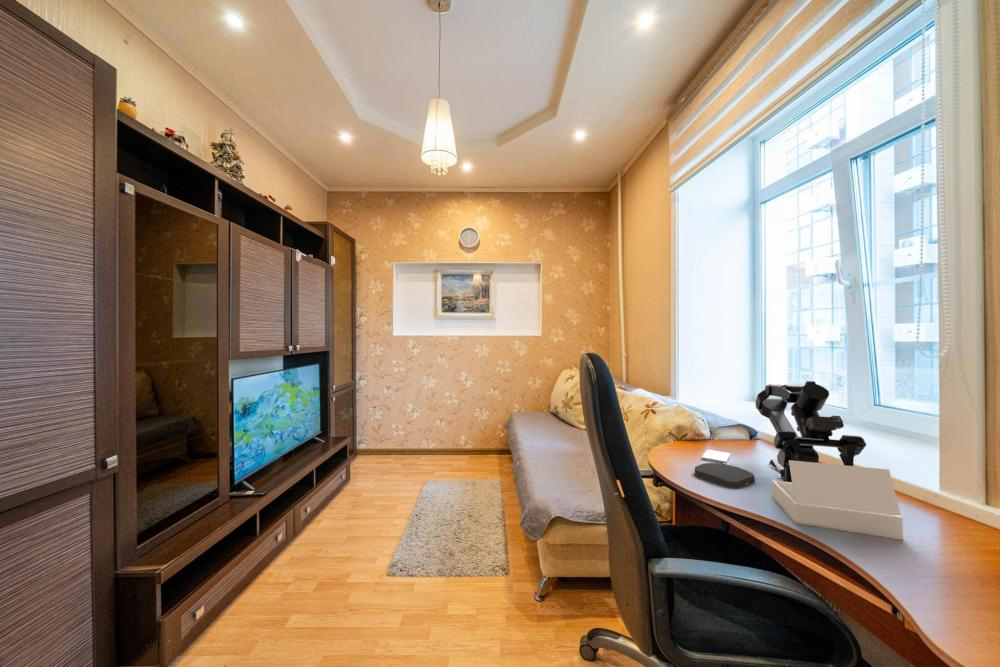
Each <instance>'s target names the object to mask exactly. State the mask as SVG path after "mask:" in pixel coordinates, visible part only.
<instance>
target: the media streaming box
mask: <svg viewBox="0 0 1000 667" xmlns="http://www.w3.org/2000/svg"><path fill="white" fill-rule="evenodd" d="M694 475H695V476H696V475H697V476H698V477H697V476H696V477H697V478H700V477H701V478H700V479H702V478H703V479H702V480H705V479H706V480H705V481H708V480H709V481H708V482H710V481H711V483H713V482H714V484H716V483H717V484H716V485H719V484H720V485H719V486H722V485H723V486H722V487H725V486H727V487H726V488H730V487H732V488H731V489H740V488H743V486H744V487H746V485H747V486H749V485H751V483H752V484H755V481H756V476H755V474H754V473H752V472H751V471H749V470H747V469H745V468H741V467H738V466H734V465H730V464H722V463H716V462H706V463H701V464H698V465H697V466H695V467H694ZM739 487H740V488H739Z"/></svg>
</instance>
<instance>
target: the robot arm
mask: <svg viewBox="0 0 1000 667" xmlns="http://www.w3.org/2000/svg"><path fill="white" fill-rule="evenodd" d="M770 396H771V397H770ZM829 397H830V392H829V390H828V389H827V388H826V387H824V386H822V385H820V384H817V383H816V382H815V381H813V380H812V381H811V380H806V381H805V383H804V384H783V385H782V384H765V388H764V389H763V390H762V391H761V392H759V393H758V394H757V396H756V400H755V409H756V410H758V412H759V413H760V415H761V416H763V417H764V418H765V417H766V418H767V419H769V421H770V423H771V424H772V426H773V429H774V430H775V432H776V434H775V436H774V439H773V445H774V447H775V449H778V450H779V451H778V453H777V456H776V457H777V461H778V463H779V464H780V465H781V466H782V467H784V479H783V480H782V481H783V482H792V478H791V472H790V466H789V460H791V461H802V462H813V463H819V459H820V456H819V454H818V452H817V451H816V449H815V447H825V448H826V447H827V448H836V449H837V450H838V452H839V458H840V459H841V460H840V461H842V463H843V465H845V466H854V464H855V463H854V462H855V461H854V459H855V458H854V457H856V456H858V455H860V454H861V453H862V451H863V450H864V449H865V447H866V446H867V443H866V441H865V439H864V438H863V437H862V436H859V435H849V434H842V435H841V437H840V438H839V439H830V437H832V436H833V435H834V434H833V431H836V430H841V429H843V428H844V425H845V424H844V421H843V419H842V418H841V416H840V415H830V416H820V414H819V412H818V411H821V410H822V409H823V407H824V405H825V404H826V401H827V400H828V398H829ZM788 404H792V405H791V407H790V409H791V413H790V415H791V416H792V417H794V419H795V420H794V421H795V423H796V426H797V427H796V430H795V429H794V427H793V425H792V424H791V422H790V420H789V419H788V418H787V416H786V414H785V411H786V408H787V406H788ZM797 432H799V434H800V436H799V435H798V434H797Z"/></svg>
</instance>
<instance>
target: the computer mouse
mask: <svg viewBox="0 0 1000 667" xmlns="http://www.w3.org/2000/svg"><path fill="white" fill-rule="evenodd" d="M768 464H769V466H770V465H772V466H773V467H772V466H771V467H772V468H774V467H775V468H777V469H776V470H777V471H778V473H779V474H780V477H781V478H780V479H783V478H784V467H782V466H781V465H780V464H779V463H778V461H777V456H776V457H775V456H774V457H773V458H771V459H770V461H769V462H768ZM775 468H774V469H775Z"/></svg>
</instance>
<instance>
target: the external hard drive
mask: <svg viewBox="0 0 1000 667" xmlns="http://www.w3.org/2000/svg"><path fill="white" fill-rule="evenodd" d="M730 455H731V453H730V452H725V451H718V450H712V449H707V450H706V451H705V452H704V453H703V455H702V456H701V459H704V460H703V461H705V460H710V461H709V462H711V461H715V462H714V463H716V462H720V463H719V464H722V463H725V464H726V463H727V464H728V462H727V461H729V460H730V458H731V456H730ZM729 457H730V458H729ZM701 459H700V460H701ZM728 459H729V460H728ZM727 464H726V465H727Z"/></svg>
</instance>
